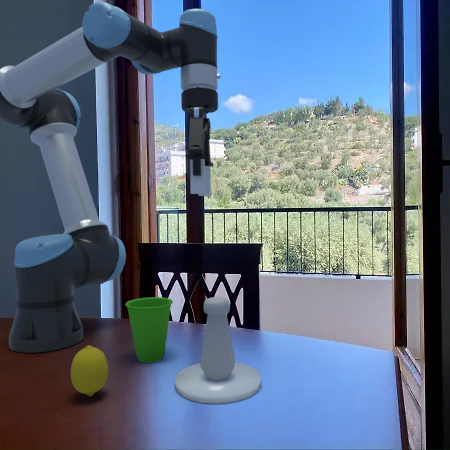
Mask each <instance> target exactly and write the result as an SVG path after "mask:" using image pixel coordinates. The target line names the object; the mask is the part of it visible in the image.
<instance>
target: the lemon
mask: <svg viewBox="0 0 450 450" xmlns="http://www.w3.org/2000/svg"><path fill="white" fill-rule="evenodd" d="M106 357H107V356H106V355H105V353H104V352H103V351H102V350H101V349H99V348H98V347H94V346H92V345H86V347H84V348H81V349H80V350H79V351H78V352H77V353H76V354H75V356H74V358H73V359H72V362H71V366H70V380H71V383H72V386H73V387H74V388H75V390H76V391H78V392H79V393H81V394H82V395H83V394H84V395H87V397H93V396H94V394H96V393H97V392H99V391H100V390H101V389H102V388H103V387H104V386H105V385H106V382H107V381H108V376H109V364H108V360H107V358H106Z"/></svg>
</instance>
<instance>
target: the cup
mask: <svg viewBox="0 0 450 450" xmlns="http://www.w3.org/2000/svg"><path fill="white" fill-rule="evenodd" d="M173 301H174V300H173V299H171V298H169V297H159V296H151V297H150V296H149V297H141V298H140V297H139V298H135V299H131V300H128V301H127V302H126V303H125V307H127V311H128V317H129V322H130V328H131V333H132V339H133V343H134V349H135V354H136V358H137V360H138V361H139V362H141V363H145V364H146V363H147V364H148V363H151V364H152V363H157V362H160V361H162V360H163V358H164V356H165V354H166V353H165V351H166V344H167V337H168V331H169V329H168V328H169V322H170V314H171V307H172V304H174V302H173Z"/></svg>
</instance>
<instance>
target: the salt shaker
mask: <svg viewBox="0 0 450 450" xmlns="http://www.w3.org/2000/svg"><path fill="white" fill-rule="evenodd" d="M230 309H231V303H230V300H229V299H228V298H226V297H223V296H222V297H221V296H214V297H209V298H206V300H204V302H203V312H204V313H205V314H207V317H206V324H205V332H204V336H203V337H204V338H203V344H202V349H201V356H200V361H199V363H200V367H201V368H202V370H203V372H204V374H205V376H206V378H207V380H210V381H214V382H220V381H225V380H228V379H229V377H230V376H231V373H232V371H233V369H234V366H235V362H236V359H235V353H234V347H233V341H232V337H231V331H230V326H229V320H228V315H227V314H229V313H230Z"/></svg>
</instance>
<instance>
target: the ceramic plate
mask: <svg viewBox="0 0 450 450" xmlns="http://www.w3.org/2000/svg"><path fill="white" fill-rule="evenodd" d="M261 382H262V381H261V374H260V373H259V371H258V370H257V369H256V368H254V367H252V366H250V365H248V364H244V363H241V362H236V361H235V366H234V369H233V371H232V373H231V376H230V377H229V379H228V380H225V381H220V382H214V381H210V380H207V378H206V376H205V374H204V372H203V370H202V368H201V367H200V362H199V363H196V364H192V365H189V366H187V367H184V368H183V369H181V370H179V372H177V374H176V375H175V378H174V387H175V388H174V389H175V391H176V392H177V394H178V395H179V396H181V397H182V398H184V399H186V400H188V401H192V402H196V403H202V404H210V405H213V404H214V405H220V404H224V405H225V404H230V403H231V404H232V403H235V402H240V401H243V400H246V399H248V398H251V397H253V396H254V395H256V394H257V393H258V392H259V391H260V389H261Z"/></svg>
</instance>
